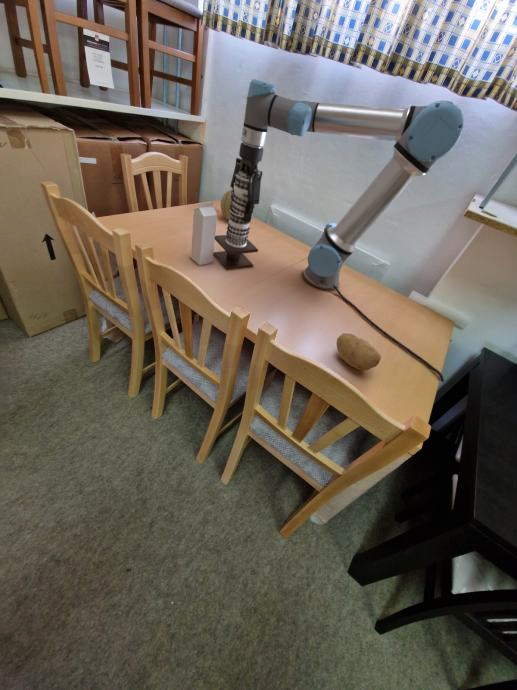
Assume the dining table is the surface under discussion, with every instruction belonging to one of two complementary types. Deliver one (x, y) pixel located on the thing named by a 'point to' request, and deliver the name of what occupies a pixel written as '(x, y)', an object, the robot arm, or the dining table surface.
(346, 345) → the potato
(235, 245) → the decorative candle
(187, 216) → the dining table surface
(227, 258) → the stand
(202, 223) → the milk
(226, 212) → the cantaloupe
